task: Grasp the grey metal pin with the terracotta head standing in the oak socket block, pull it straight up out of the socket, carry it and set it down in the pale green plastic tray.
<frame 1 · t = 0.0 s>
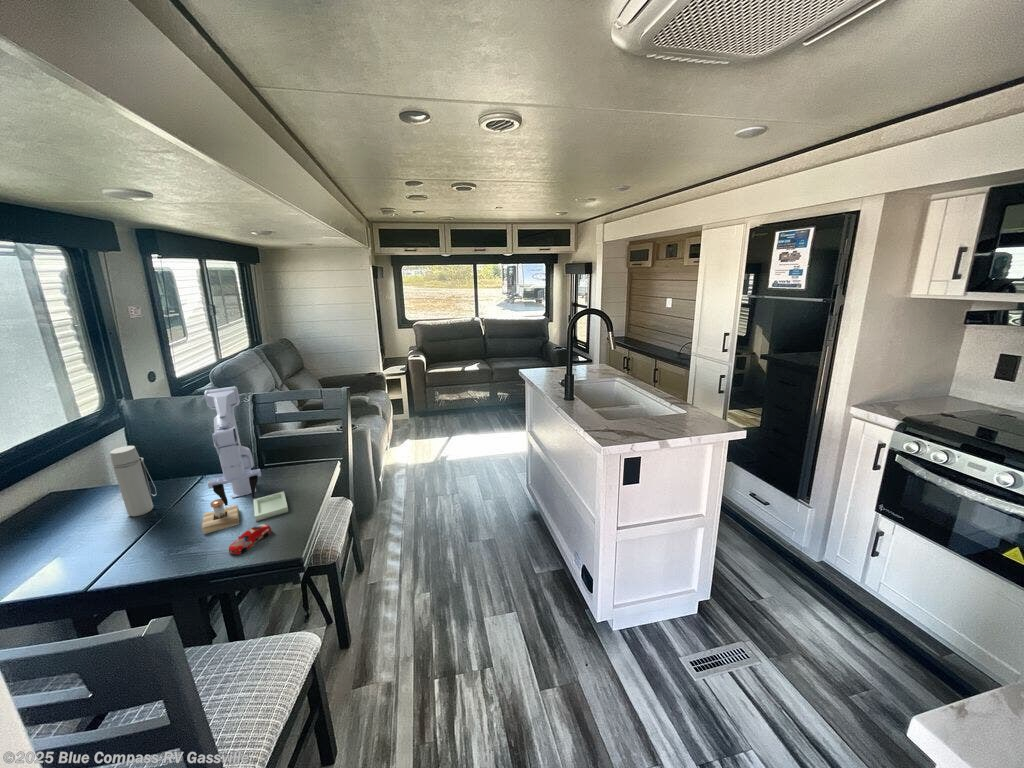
hand: (240, 500, 137), 10 cm above the table, fingers open, 7 cm apart
tray: (271, 507, 150), on the table
water bottle: (144, 511, 150), on the table
socket block: (222, 521, 142), on the table
race car: (251, 543, 131), on the table
pin: (219, 511, 141), in the socket block
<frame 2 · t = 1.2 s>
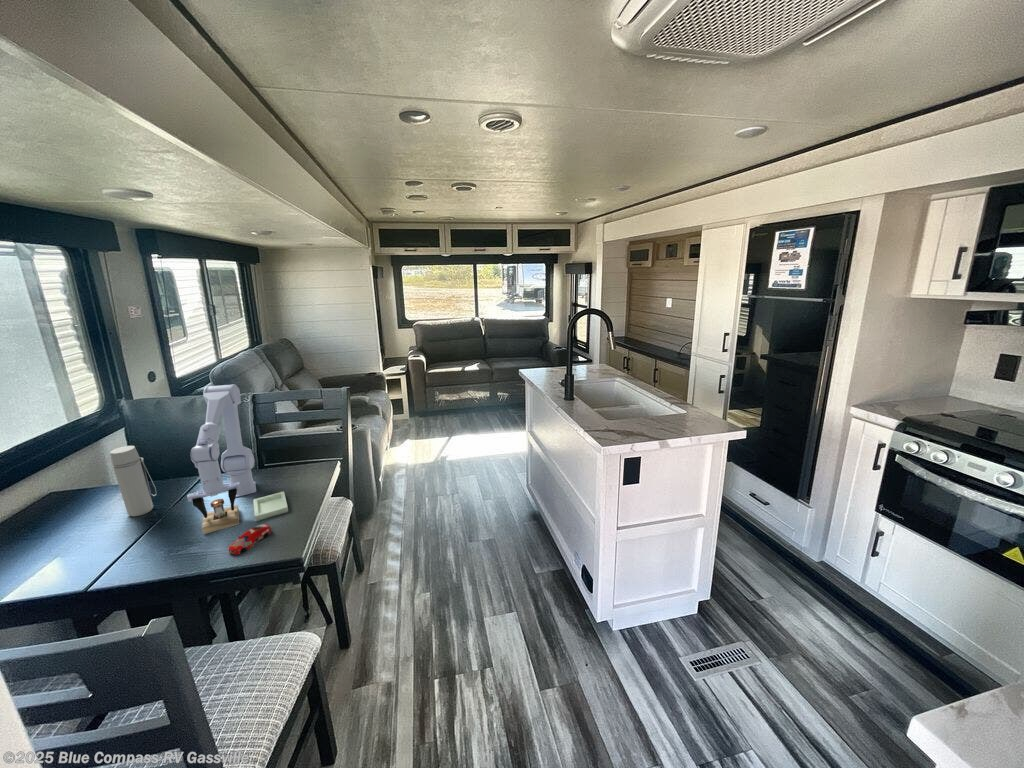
hand: (219, 512, 141), 4 cm above the table, fingers open, 7 cm apart
nothing on the table moved.
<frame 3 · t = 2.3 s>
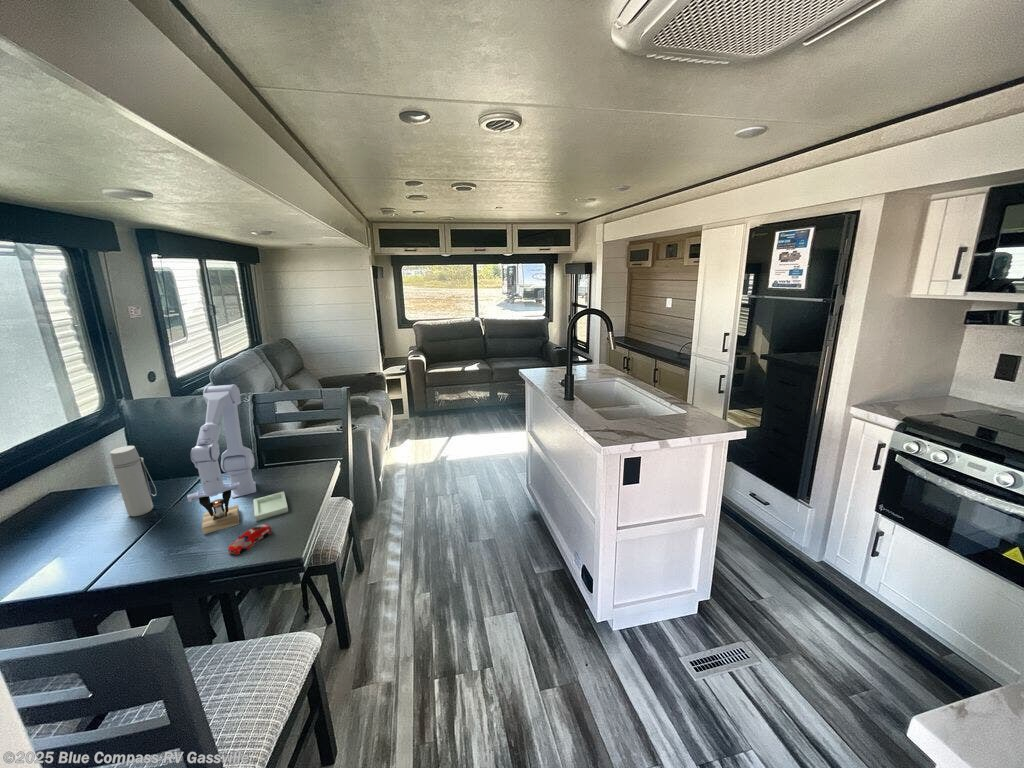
hand: (219, 512, 141), 4 cm above the table, fingers closed on pin, 4 cm apart
pin: (219, 511, 141), in the socket block, touching gripper
everything else where it was.
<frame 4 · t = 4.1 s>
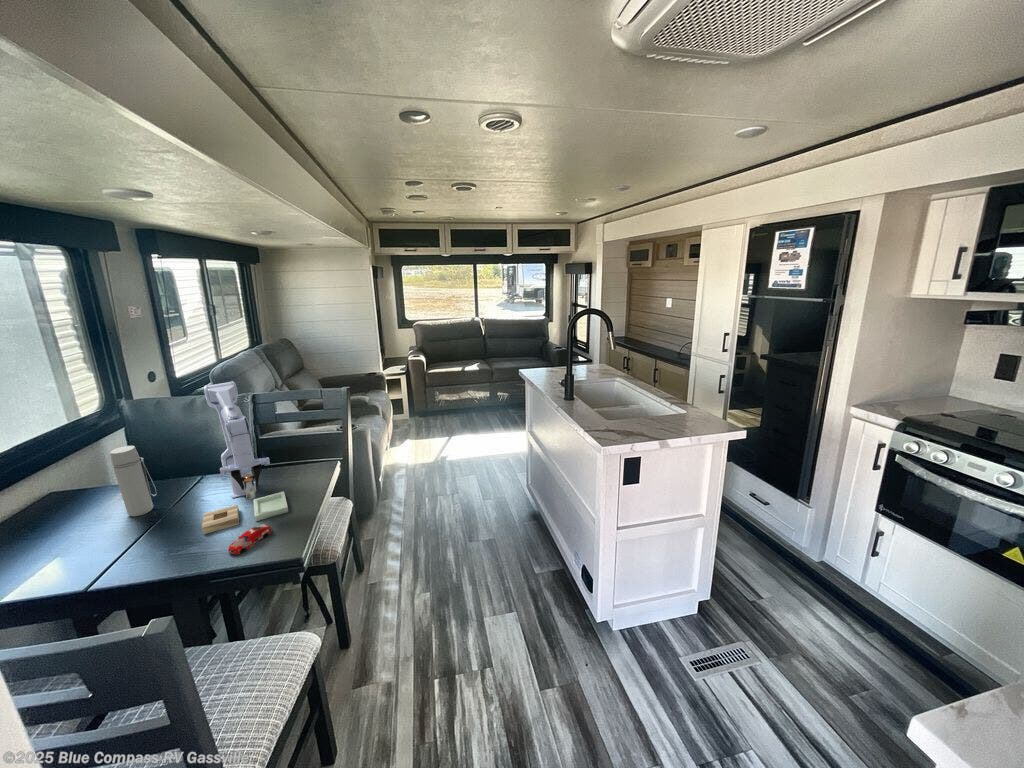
hand: (250, 486, 145), 10 cm above the table, fingers closed on pin, 4 cm apart
pin: (249, 486, 145), point 10 cm above the table, touching gripper
everything else where it was.
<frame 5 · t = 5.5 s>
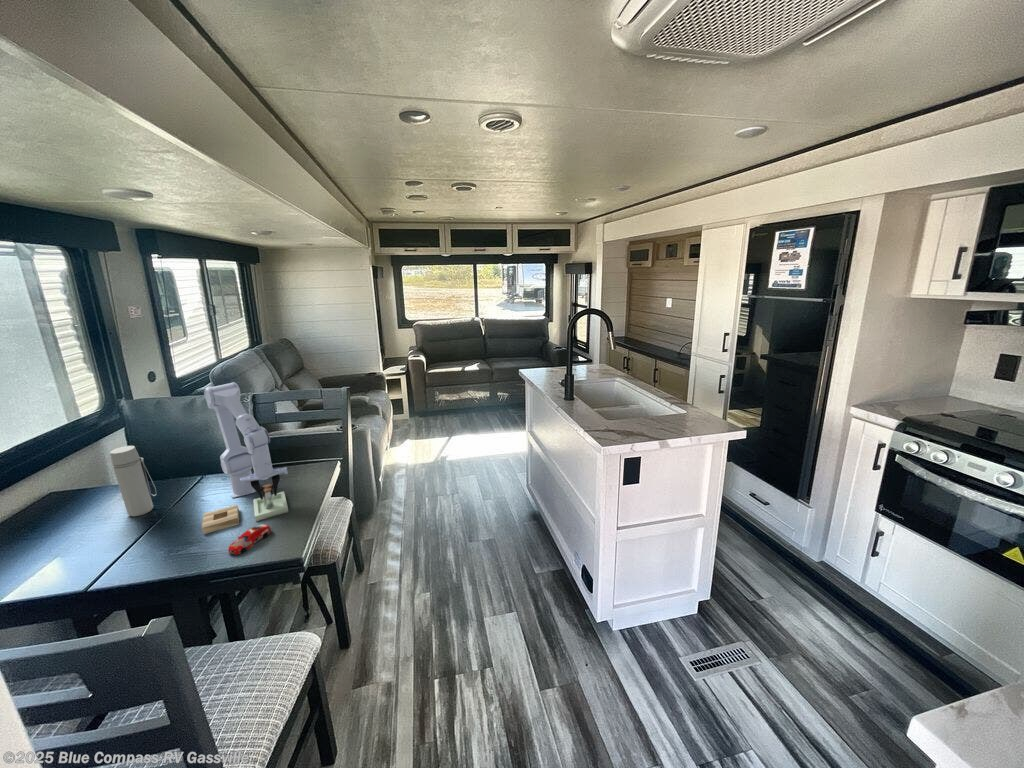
hand: (268, 496, 149), 5 cm above the table, fingers closed on pin, 4 cm apart
pin: (268, 496, 149), in the tray, point 5 cm above the table, touching gripper
everything else where it was.
when the fingers open (5 cm above the table, at t = 6.3 s): pin stays where it is, resting on tray.
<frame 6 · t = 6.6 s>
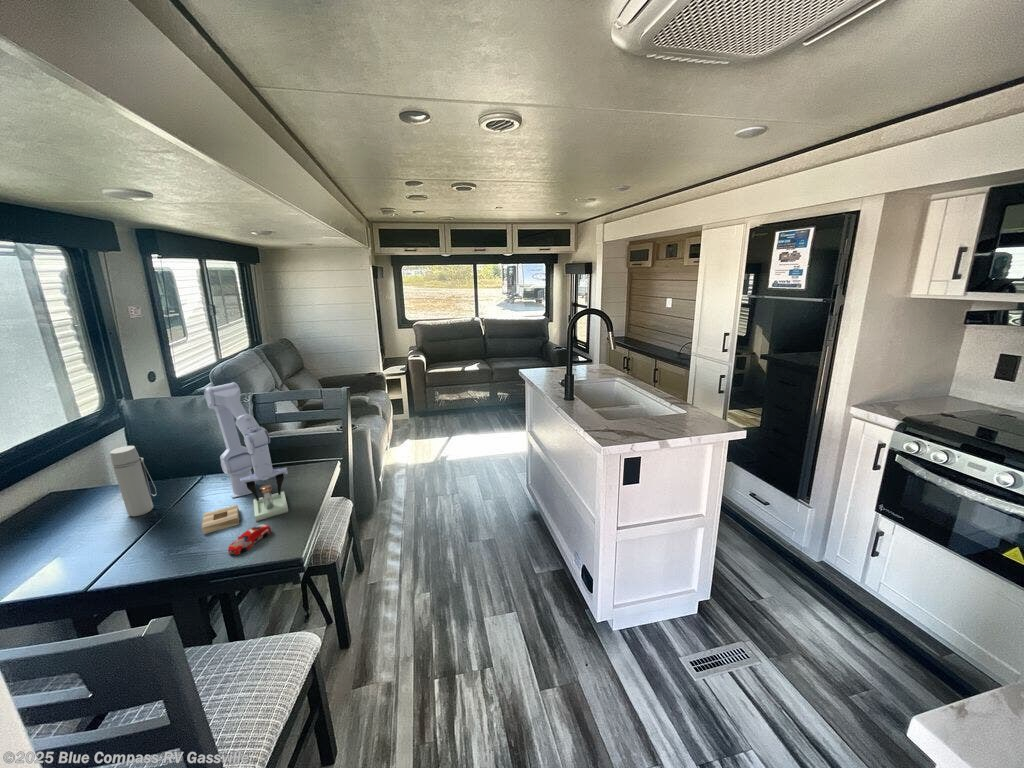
hand: (268, 496, 149), 5 cm above the table, fingers open, 6 cm apart
pin: (267, 497, 149), in the tray, point 5 cm above the table
everything else where it was.
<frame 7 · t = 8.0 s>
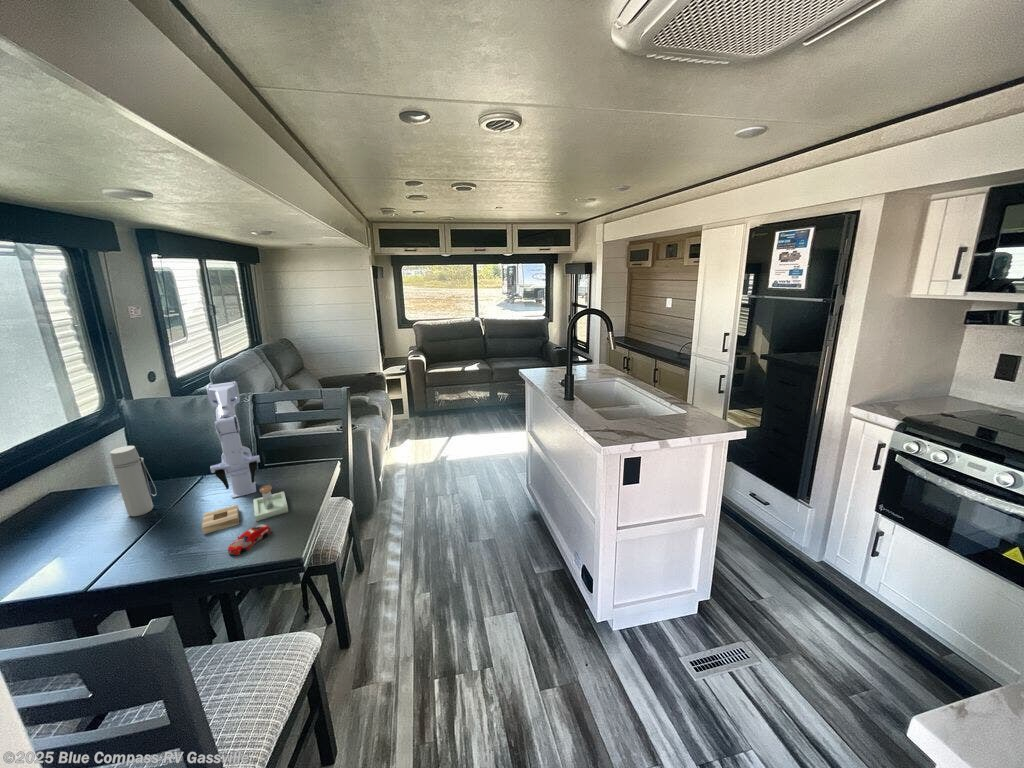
hand: (240, 484, 146), 10 cm above the table, fingers open, 7 cm apart
nothing on the table moved.
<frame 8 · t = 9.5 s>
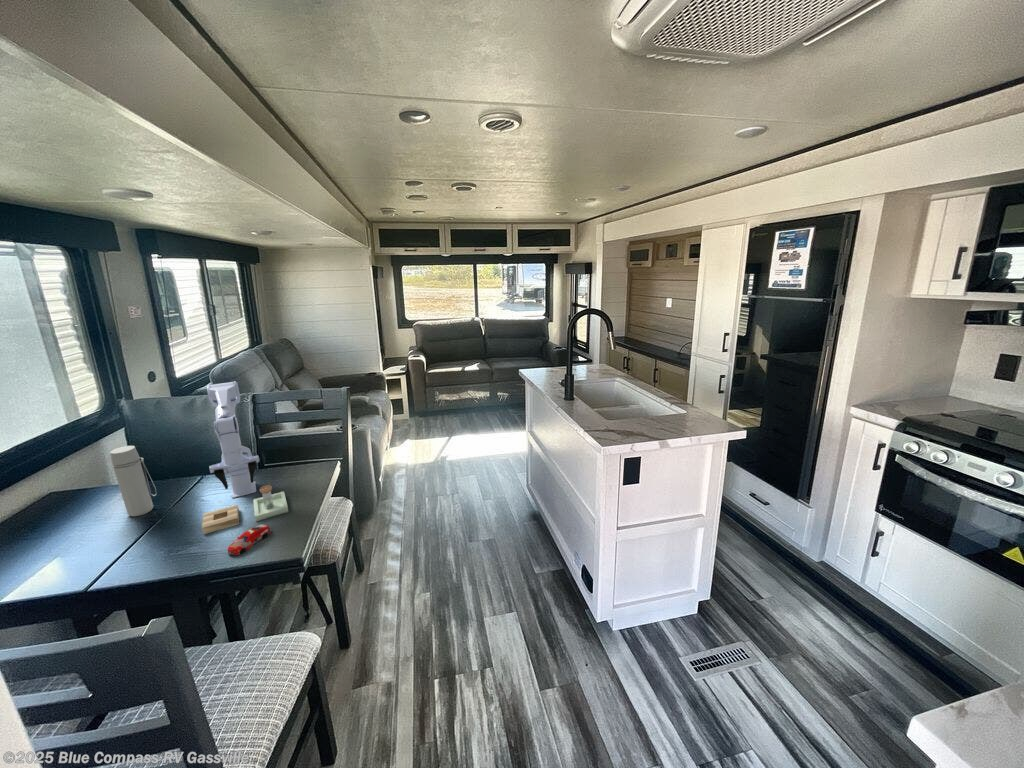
hand: (239, 484, 146), 10 cm above the table, fingers open, 7 cm apart
nothing on the table moved.
at the end: pin inside the target area on the tray (0.4 cm from its centre), point 4.6 cm above the tray's base; the gripper is holding nothing; pin touching tray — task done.
